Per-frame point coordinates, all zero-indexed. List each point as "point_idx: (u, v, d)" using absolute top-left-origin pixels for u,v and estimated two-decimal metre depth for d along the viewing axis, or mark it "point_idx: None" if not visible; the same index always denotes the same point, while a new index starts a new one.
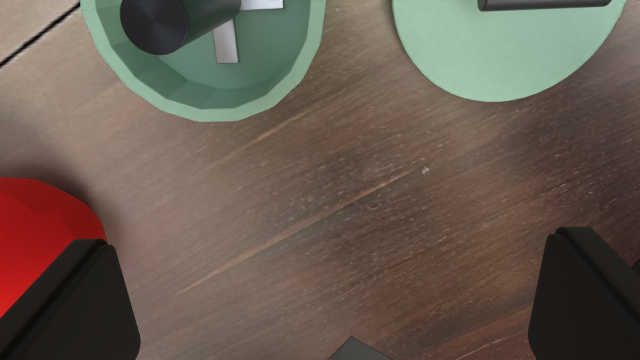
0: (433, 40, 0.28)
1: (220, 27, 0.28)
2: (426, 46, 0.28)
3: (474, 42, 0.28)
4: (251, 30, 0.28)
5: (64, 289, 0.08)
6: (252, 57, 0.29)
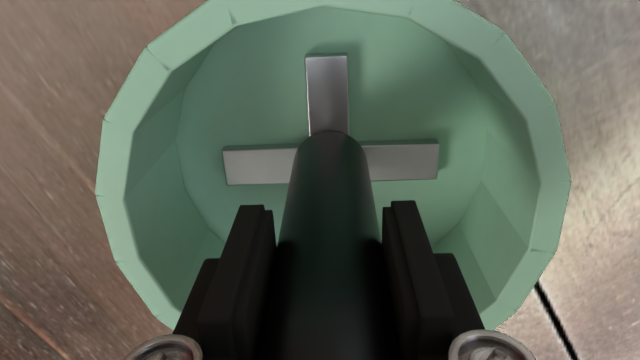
0: None
1: (284, 162, 0.16)
2: None
3: None
4: (281, 200, 0.17)
5: (255, 244, 0.09)
6: (238, 199, 0.17)
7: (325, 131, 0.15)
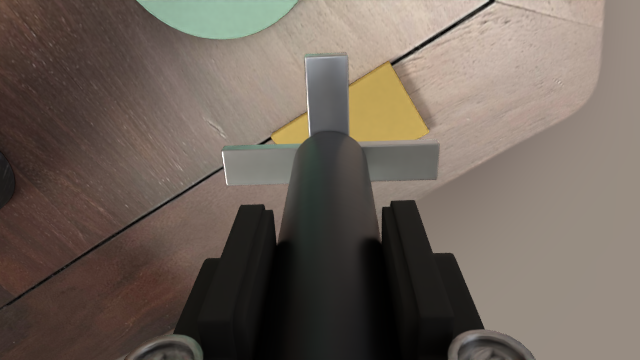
0: None
1: (284, 162, 0.16)
2: None
3: None
4: None
5: (256, 244, 0.09)
6: None
7: (325, 131, 0.15)
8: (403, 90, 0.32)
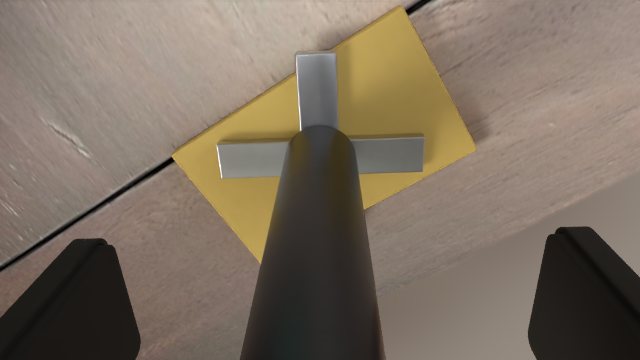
0: None
1: (276, 155, 0.17)
2: None
3: None
4: None
5: (64, 289, 0.08)
6: None
7: (315, 125, 0.16)
8: (430, 66, 0.16)
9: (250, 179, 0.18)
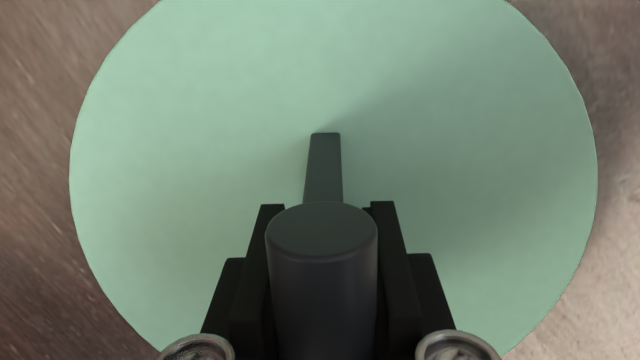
0: (199, 77, 0.10)
1: None
2: (179, 58, 0.10)
3: (205, 176, 0.11)
4: None
5: None
6: None
7: None
8: None
9: None
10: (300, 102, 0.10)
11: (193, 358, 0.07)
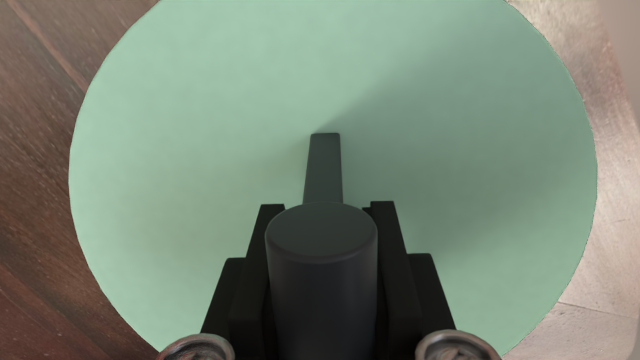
0: (198, 77, 0.10)
1: None
2: (179, 58, 0.10)
3: (205, 176, 0.11)
4: None
5: None
6: None
7: None
8: None
9: None
10: (300, 102, 0.10)
11: (193, 358, 0.07)
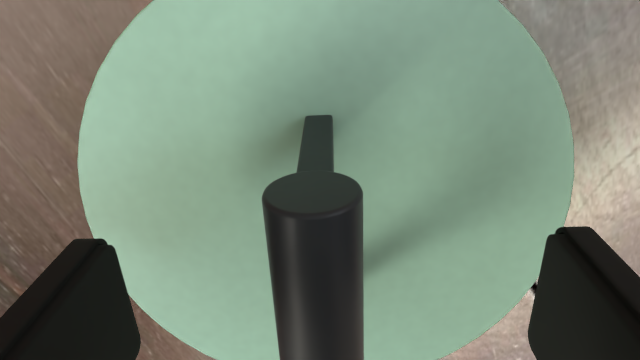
0: (200, 63, 0.11)
1: None
2: (182, 45, 0.11)
3: (206, 157, 0.12)
4: None
5: (64, 289, 0.08)
6: None
7: None
8: None
9: None
10: (295, 86, 0.11)
11: None
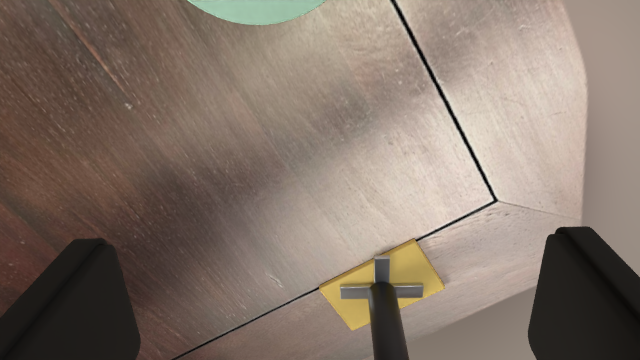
0: None
1: (364, 291, 0.42)
2: None
3: None
4: None
5: (64, 289, 0.08)
6: None
7: (380, 282, 0.41)
8: (425, 260, 0.41)
9: None
10: None
11: None
